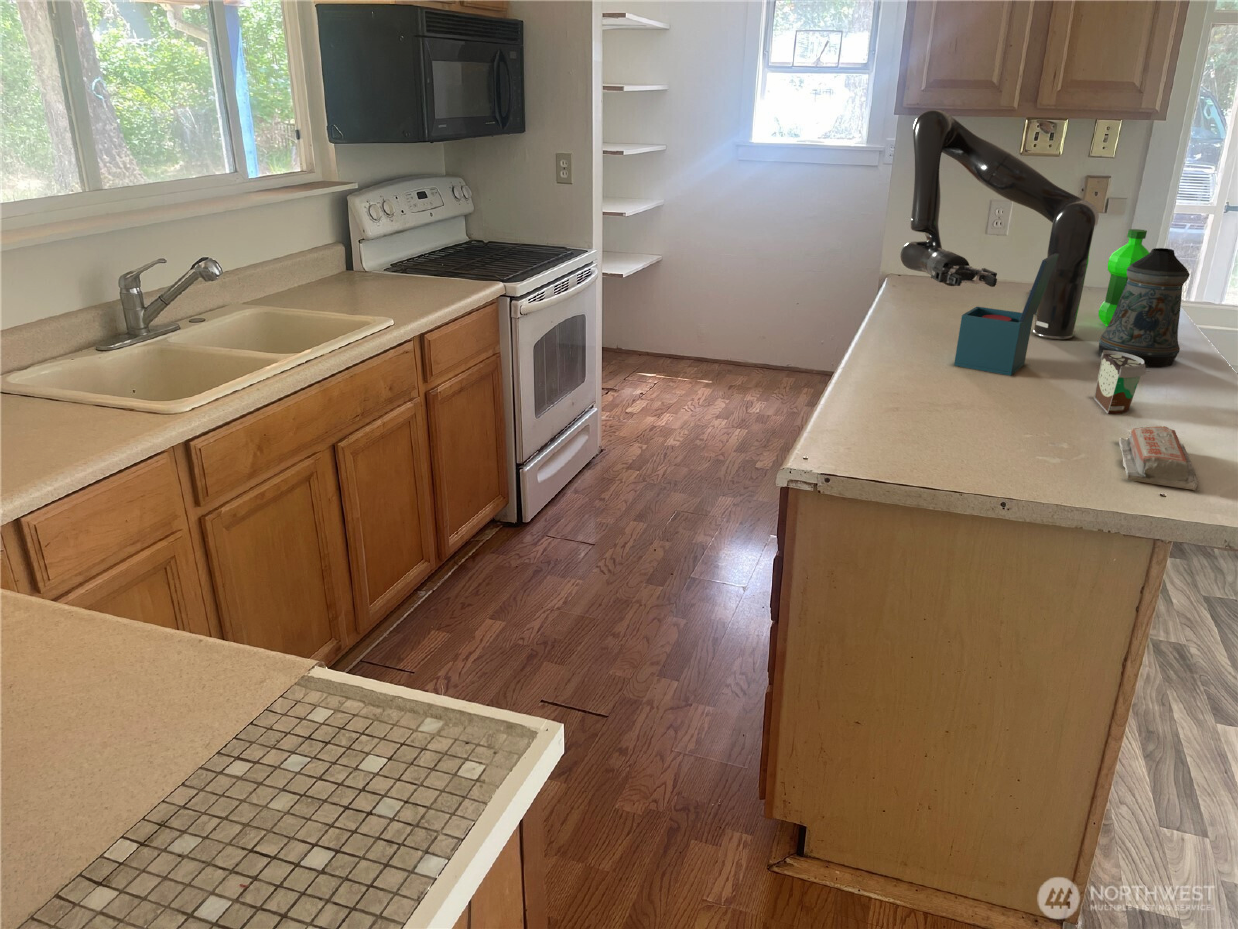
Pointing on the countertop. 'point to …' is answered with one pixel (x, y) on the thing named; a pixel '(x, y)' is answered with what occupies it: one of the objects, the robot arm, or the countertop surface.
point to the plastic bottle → (1121, 271)
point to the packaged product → (1157, 458)
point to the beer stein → (1149, 310)
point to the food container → (1118, 381)
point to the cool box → (992, 341)
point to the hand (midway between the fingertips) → (977, 282)
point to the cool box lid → (1039, 287)
